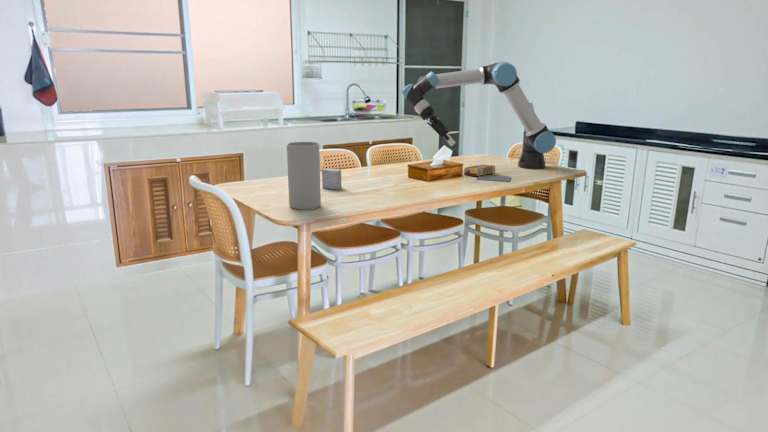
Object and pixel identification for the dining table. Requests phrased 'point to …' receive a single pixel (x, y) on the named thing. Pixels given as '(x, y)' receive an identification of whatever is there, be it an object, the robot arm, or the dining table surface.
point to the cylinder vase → (303, 175)
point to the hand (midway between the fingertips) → (453, 144)
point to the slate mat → (494, 178)
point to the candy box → (479, 170)
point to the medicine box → (331, 178)
